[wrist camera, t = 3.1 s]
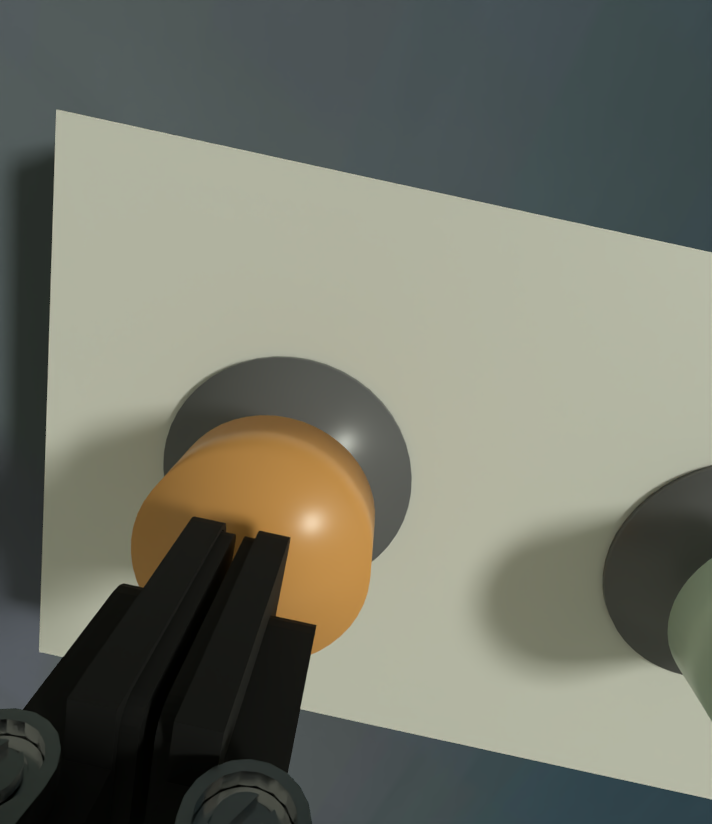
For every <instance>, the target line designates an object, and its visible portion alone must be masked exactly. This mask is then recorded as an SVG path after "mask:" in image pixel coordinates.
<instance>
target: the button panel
mask: <svg viewBox="0 0 712 824" xmlns="http://www.w3.org/2000/svg"><path fill="white" fill-rule="evenodd" d="M258 415H270V416H281V417H287V418H292V419H295V420H299V421H302V422H305V423H307V424H309V425H312V426H314V427H316V428H318V429H320V430H322V431H323V432H325V433H327V434H329V435H330V436H331V437H333V438H334V439H335V440H337V441H338V442H339V443H340V444H341V445H343V446H344V447H345V448H346V449H347V450H348V451H349V452H350V453H351V455H352V456H353V457H354V458H355V460H356V461H357V462H358V464H359V465H360V467H361V469H362V470H363V472H364V474H365V476H366V478H367V480H368V483H369V485H370V488H371V491H372V495H373V499H374V507H375V526H374V539H373V551H372V564H371V576H370V583H369V589H368V593H367V596H366V599H365V602H364V605H363V607H362V609H361V611H360V612H359V614H358V616H357V618H356V619H355V620H354V622H353V623H352V625H351V626H350V627H349V628H348V629H347V630H346V631H345V632H344V633H343V634H342V635H341V636H340V637H339V638H338V639H337V640H335V641H334V642H333V643H331V644H330V645H329V646H327V647H325V648H323V649H322V650H320V651H318V652H316V653H314V654H311V656H310V662H309V667H308V672H307V677H306V682H305V687H304V692H303V697H302V702H301V707H300V709H302V710H307V711H312V712H316V713H321V714H325V715H330V716H334V717H339V718H344V719H348V720H353V721H357V722H362V723H366V724H371V725H375V726H380V727H385V728H389V729H394V730H398V731H403V732H407V733H412V734H417V735H421V736H426V737H430V738H435V739H439V740H444V741H448V742H453V743H458V744H462V745H467V746H471V747H476V748H480V749H485V750H490V751H494V752H499V753H503V754H508V755H512V756H517V757H521V758H526V759H531V760H535V761H540V762H544V763H549V764H553V765H558V766H562V767H567V768H572V769H576V770H581V771H585V772H590V773H594V774H599V775H604V776H608V777H613V778H617V779H622V780H626V781H631V782H635V783H640V784H645V785H649V786H654V787H658V788H663V789H667V790H672V791H677V792H681V793H686V794H690V795H695V796H699V797H704V798H708V799H712V721H711V719H710V718H709V716H708V715H707V713H706V711H705V710H704V708H703V706H702V705H701V703H700V702H699V700H698V698H697V697H696V695H695V693H694V692H693V690H692V689H691V687H690V685H689V684H688V682H687V680H686V679H685V677H684V676H683V674H682V672H681V671H680V669H679V668H678V666H677V664H676V662H675V660H674V658H673V656H672V654H671V650H670V647H669V642H668V621H669V616H670V612H671V609H672V606H673V604H674V601H675V599H676V597H677V595H678V594H679V592H680V590H681V589H682V587H683V586H684V585H685V583H686V582H687V580H688V579H689V578H690V577H691V576H692V575H693V574H694V573H695V572H696V571H697V570H698V569H699V568H700V567H701V566H702V565H704V564H705V563H706V562H707V561H708V560H710V559H711V558H712V253H711V252H707V251H702V250H698V249H693V248H689V247H684V246H679V245H675V244H670V243H666V242H661V241H656V240H652V239H647V238H643V237H638V236H634V235H629V234H624V233H620V232H615V231H611V230H606V229H602V228H597V227H592V226H588V225H583V224H579V223H574V222H569V221H565V220H560V219H556V218H551V217H547V216H542V215H537V214H533V213H528V212H524V211H519V210H515V209H510V208H505V207H501V206H496V205H492V204H487V203H482V202H478V201H473V200H469V199H464V198H460V197H455V196H450V195H446V194H441V193H437V192H432V191H428V190H423V189H418V188H414V187H409V186H405V185H400V184H395V183H391V182H386V181H382V180H377V179H373V178H368V177H363V176H359V175H354V174H350V173H345V172H340V171H336V170H331V169H327V168H322V167H318V166H313V165H308V164H304V163H299V162H295V161H290V160H286V159H281V158H276V157H272V156H267V155H263V154H258V153H253V152H249V151H244V150H240V149H235V148H231V147H226V146H221V145H217V144H212V143H208V142H203V141H199V140H194V139H189V138H185V137H180V136H176V135H171V134H166V133H162V132H157V131H153V130H148V129H144V128H139V127H134V126H130V125H125V124H121V123H116V122H112V121H107V120H102V119H98V118H93V117H89V116H84V115H79V114H75V113H70V112H66V111H61V110H57V109H56V134H55V165H54V197H53V228H52V260H51V291H50V323H49V354H48V386H47V417H46V449H45V481H44V512H43V544H42V575H41V607H40V638H39V652H42V653H47V654H52V655H56V656H61V657H63V656H64V655H65V654H66V652H67V651H68V650H69V649H70V647H71V646H72V645H73V643H74V642H75V641H76V639H77V638H78V637H79V635H80V634H81V633H82V632H83V630H84V629H85V628H86V626H87V625H88V624H89V622H90V621H91V620H92V618H93V617H94V616H95V614H96V613H97V612H98V611H99V609H100V608H101V607H102V605H103V604H104V603H105V601H106V600H107V599H108V597H109V596H110V595H111V594H112V592H113V591H114V590H115V589H116V588H117V587H118V586H119V585H121V584H123V583H125V584H129V585H134V586H139V585H138V583H137V580H136V577H135V573H134V570H133V565H132V558H131V537H132V531H133V526H134V523H135V520H136V517H137V514H138V512H139V510H140V508H141V506H142V504H143V502H144V500H145V499H146V498H147V496H148V495H149V494H150V492H151V491H152V489H153V488H154V487H155V486H156V485H157V484H158V483H159V482H160V481H161V480H162V478H163V477H164V476H165V475H166V474H167V473H168V472H169V471H170V470H171V468H172V467H173V466H174V465H175V464H176V463H177V462H178V461H179V460H180V458H181V457H182V456H183V455H184V454H185V453H186V452H187V451H188V450H189V448H190V447H191V446H192V445H193V444H194V443H195V442H196V441H197V440H198V439H199V438H201V437H202V436H203V435H205V434H206V433H207V432H209V431H210V430H212V429H214V428H216V427H217V426H219V425H221V424H224V423H226V422H229V421H232V420H234V419H239V418H243V417H248V416H258Z"/></svg>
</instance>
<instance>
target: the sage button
mask: <svg viewBox="0 0 712 824" xmlns="http://www.w3.org/2000/svg"><path fill="white" fill-rule="evenodd" d="M668 642H669V647H670V650H671V654H672V656H673V658H674V660H675V662H676V664H677V666H678V668H679V669H680V671H681V672H682V674H683V676H684V677H685V679H686V680H687V682H688V684H689V685H690V687H691V689H692V690H693V692H694V693H695V695H696V697H697V698H698V700H699V702H700V703H701V705H702V706H703V708H704V710H705V711H706V713H707V715H708V716H709V718H710V719H711V721H712V558H711V559H710V560H708V561H707V562H706V563H705V564H704V565H702V566H701V567H700V568H699V569H698V570H697V571H696V572H695V573H694V574H693V575H692V576H691V577H690V578H689V579H688V580H687V582H686V583H685V585H684V586H683V587H682V589H681V590H680V592H679V594H678V595H677V597H676V599H675V601H674V604H673V606H672V609H671V612H670V616H669V621H668Z"/></svg>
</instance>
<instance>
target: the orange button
mask: <svg viewBox="0 0 712 824" xmlns="http://www.w3.org/2000/svg"><path fill="white" fill-rule="evenodd" d="M194 516H195V517H200V518H205V519H209V520H214V521H218V522H223V523H226V532H228V533H233V534H235V535H236V541H235V548H234V554H233V559H234V557H235V555H236V553H237V551H238V549H239V546H240V544H241V542H242V540H243V538H244V537H245V536H247V537H251V538H256V536H257V533H258V532H259V531H264V532H269V533H274V534H278V535H283V536H287V537H290V545H289V550H288V556H287V561H286V566H285V571H284V576H283V581H282V586H281V592H280V597H279V602H278V607H277V612H276V616H277V617H282V618H286V619H291V620H296V621H300V622H305V623H309V624H314V625H316V631H315V636H314V641H313V646H312V651H311V654H314V653H316V652H318V651H320V650H322V649H323V648H325V647H327V646H329V645H330V644H331V643H333V642H334V641H335V640H337V639H338V638H339V637H340V636H341V635H342V634H343V633H344V632H345V631H346V630H347V629H348V628H349V627H350V626H351V625H352V623H353V622H354V620H355V619H356V618H357V616H358V614H359V612H360V611H361V609H362V607H363V605H364V602H365V599H366V596H367V593H368V589H369V583H370V576H371V564H372V551H373V539H374V526H375V507H374V499H373V495H372V491H371V488H370V485H369V483H368V480H367V478H366V476H365V474H364V472H363V470H362V469H361V467H360V465H359V464H358V462H357V461H356V460H355V458H354V457H353V456H352V455H351V453H350V452H349V451H348V450H347V449H346V448H345V447H344V446H343V445H341V444H340V443H339V442H338V441H337V440H335V439H334V438H333V437H331V436H330V435H329V434H327V433H325V432H323V431H322V430H320V429H318V428H316V427H314V426H312V425H309V424H307V423H305V422H302V421H299V420H295V419H292V418H287V417H281V416H270V415H258V416H248V417H243V418H239V419H234V420H232V421H229V422H226V423H224V424H221V425H219V426H217V427H216V428H214V429H212V430H210V431H209V432H207V433H206V434H205V435H203V436H202V437H201V438H199V439H198V440H197V441H196V442H195V443H194V444H193V445H192V446H191V447H190V448H189V450H188V451H187V452H186V453H185V454H184V455H183V456H182V457H181V458H180V460H179V461H178V462H177V463H176V464H175V465H174V466H173V467H172V468H171V470H170V471H169V472H168V473H167V474H166V475H165V476H164V477H163V478H162V480H161V481H160V482H159V483H158V484H157V485H156V486H155V487H154V488H153V489H152V491H151V492H150V494H149V495H148V496H147V498H146V499H145V500H144V502H143V504H142V506H141V508H140V510H139V512H138V514H137V517H136V520H135V523H134V526H133V531H132V537H131V558H132V565H133V570H134V573H135V577H136V580H137V583H138V585H139V587H143V588H144V586H145V585H146V583H147V582H148V580H149V579H150V577H151V576H152V574H153V573H154V572H155V570H156V569H157V567H158V566H159V564H160V563H161V561H162V560H163V559H164V557H165V556H166V554H167V553H168V551H169V550H170V548H171V547H172V545H173V544H174V543H175V541H176V540H177V538H178V537H179V535H180V534H181V532H182V531H183V529H184V528H185V527H186V525H187V524H188V522H189V521H190V519H191V518H192V517H194ZM232 561H233V560H232Z"/></svg>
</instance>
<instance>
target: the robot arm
mask: <svg viewBox="0 0 712 824" xmlns="http://www.w3.org/2000/svg"><path fill="white" fill-rule="evenodd" d="M235 541H236V535H235V534H233V533H228V532H226V523H223V522H218V521H214V520H209V519H205V518H200V517H195V516H194V517H192V518H191V519H190V521H189V522H188V524H187V525H186V527H185V528H184V529H183V531H182V532H181V534H180V535H179V537H178V538H177V540H176V541H175V543H174V544H173V545H172V547H171V548H170V550H169V551H168V553H167V554H166V556H165V557H164V559H163V560H162V561H161V563H160V564H159V566H158V567H157V569H156V570H155V572H154V573H153V574H152V576H151V577H150V579H149V580H148V582H147V583H146V585H145V586H144V588H143V587H139V586H134V585H129V584H125V583H123V584H121V585H119V586H118V587H117V588H116V589H115V590H114V591H113V592H112V594H111V595H110V596H109V597H108V599H107V600H106V601H105V603H104V604H103V605H102V607H101V608H100V609H99V611H98V612H97V613H96V614H95V616H94V617H93V618H92V620H91V621H90V622H89V624H88V625H87V626H86V628H85V629H84V630H83V632H82V633H81V634H80V635H79V637H78V638H77V639H76V641H75V642H74V643H73V645H72V646H71V647H70V649H69V650H68V651H67V652H66V654H65V655H64V656H63V658H62V659H61V660H60V662H59V663H58V664H57V666H56V667H55V668H54V670H53V671H52V672H51V673H50V675H49V676H48V677H47V679H46V680H45V681H44V683H43V684H42V685H41V687H40V688H39V689H38V690H37V692H36V693H35V694H34V696H33V697H32V698H31V700H30V701H29V702H28V704H27V705H26V706H25V708H24V709H23V710H21V709H16V708H13V709H0V824H312V821H311V815H310V809H309V803H308V801H307V799H306V797H305V795H304V793H303V791H302V790H301V788H300V786H299V785H298V784H297V783H296V782H295V781H294V780H293V779H292V778H291V777H290V776H289V775H288V774H287V773H288V768H289V763H290V758H291V753H292V748H293V743H294V738H295V733H296V728H297V723H298V717H299V712H300V707H301V702H302V697H303V692H304V687H305V682H306V677H307V672H308V667H309V662H310V656H311V651H312V646H313V641H314V636H315V631H316V625H314V624H309V623H305V622H300V621H296V620H291V619H286V618H282V617H277V616H276V612H277V607H278V602H279V597H280V592H281V586H282V581H283V576H284V571H285V566H286V561H287V556H288V550H289V545H290V537H287V536H283V535H278V534H274V533H269V532H264V531H259V532H258V533H257V536H256V538H251V537H247V536H245V537H244V538H243V540H242V542H241V544H240V546H239V549H238V551H237V553H236V555H235V557H234V559H233V554H234V548H235ZM232 560H233V561H232Z"/></svg>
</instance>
